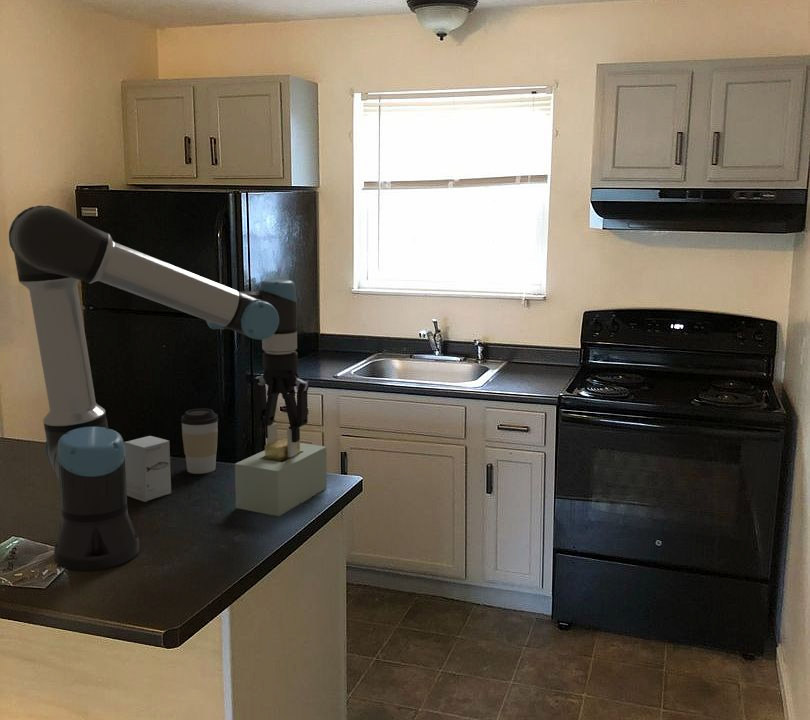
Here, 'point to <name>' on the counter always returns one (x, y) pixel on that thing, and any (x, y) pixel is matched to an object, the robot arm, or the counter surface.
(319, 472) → the grey box with slot
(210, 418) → the coffee cup
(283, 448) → the tan wooden block
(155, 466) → the supplement box
